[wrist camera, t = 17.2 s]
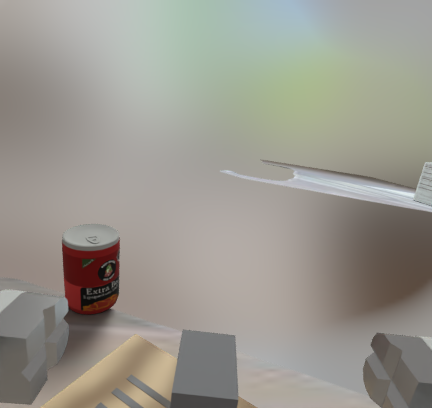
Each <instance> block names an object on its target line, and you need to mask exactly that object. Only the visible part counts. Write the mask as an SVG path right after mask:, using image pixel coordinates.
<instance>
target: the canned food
mask: <svg viewBox="0 0 432 408" xmlns="http://www.w3.org/2000/svg"><path fill="white" fill-rule="evenodd" d="M62 238H63V239H62V251H63V268H64V286H65V298H66V299H67V300H68V307H69V308H70V309H71V310H72V311H74V312H76V313H80V314H97V313H100V312H103V311H106V310H107V309H109V308H111V307H112V306H113V305H114V304H115V303H116V300H117V298H118V295H119V254H120V243H119V242H120V240H119V239H120V237H119V232H118V231H117V230H116V229H114V228H113V227H110V226H106V225H100V224H86V225H80V226H76V227H73V228H70V229H69V230H67V231H66V232H64V234H63V237H62Z"/></svg>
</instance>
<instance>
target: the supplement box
mask: <svg viewBox="0 0 432 408" xmlns="http://www.w3.org/2000/svg"><path fill="white" fill-rule="evenodd" d="M413 200H415V201H418V202H421V203H424V204H427V205H430V206H432V163H428V162H425V165H424V168H423V171H422V174H421V177H420V180H419V183H418V186H417V189H416V192H415V195H414V198H413Z"/></svg>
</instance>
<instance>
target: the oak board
mask: <svg viewBox="0 0 432 408" xmlns="http://www.w3.org/2000/svg"><path fill="white" fill-rule="evenodd" d="M176 365H177V359H176V358H175V357H173V356H171V355H170V354H168V353H166V352H165V351H163V350H161V349H160V348H158V347H156V346H155V345H153V344H152V343H150V342H148V341H147V340H145V339H143V338H142V337H140V336H138V335H137V334H135V335H134V336H132V337H131V338H130V339H128V340H127V341H126V342H125V343H123V344H122V345H121V346H119V347H118V348H117V349H115V350H114V351H113V352H112V353H110V354H109V355H108V356H106V357H105V358H104V359H103V360H101V361H100V362H99V363H97V364H96V365H95V366H93V367H92V368H91V369H90V370H88V371H87V372H86V373H84V374H83V375H82V376H80V377H79V378H78V379H77V380H75V381H74V382H73V383H71V384H70V385H69V386H67V387H66V388H65V389H64V390H62V391H61V392H60V393H58V394H57V395H56V396H54V397H53V398H52V399H51V400H49V401H48V402H47V403H45V404H44V405H43V406H41V407H40V408H170V404H171V394H172V388H173V382H174V376H175V371H176ZM237 408H257V407H255V406H254V405H252V404H250V403H249V402H247V401H245V400H244V399H242V398H240V397H239V396H238V405H237Z"/></svg>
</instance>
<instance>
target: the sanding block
mask: <svg viewBox="0 0 432 408" xmlns="http://www.w3.org/2000/svg"><path fill="white" fill-rule="evenodd" d="M235 343H236V342H235V336H234V335H226V334H218V333H208V332H200V331H190V330H183V331H182V337H181V343H180V348H179V354H178V359H177V365H176V371H175V376H174V382H173V388H172V394H171V404H170V408H237V405H238V381H237V361H236V344H235Z"/></svg>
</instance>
